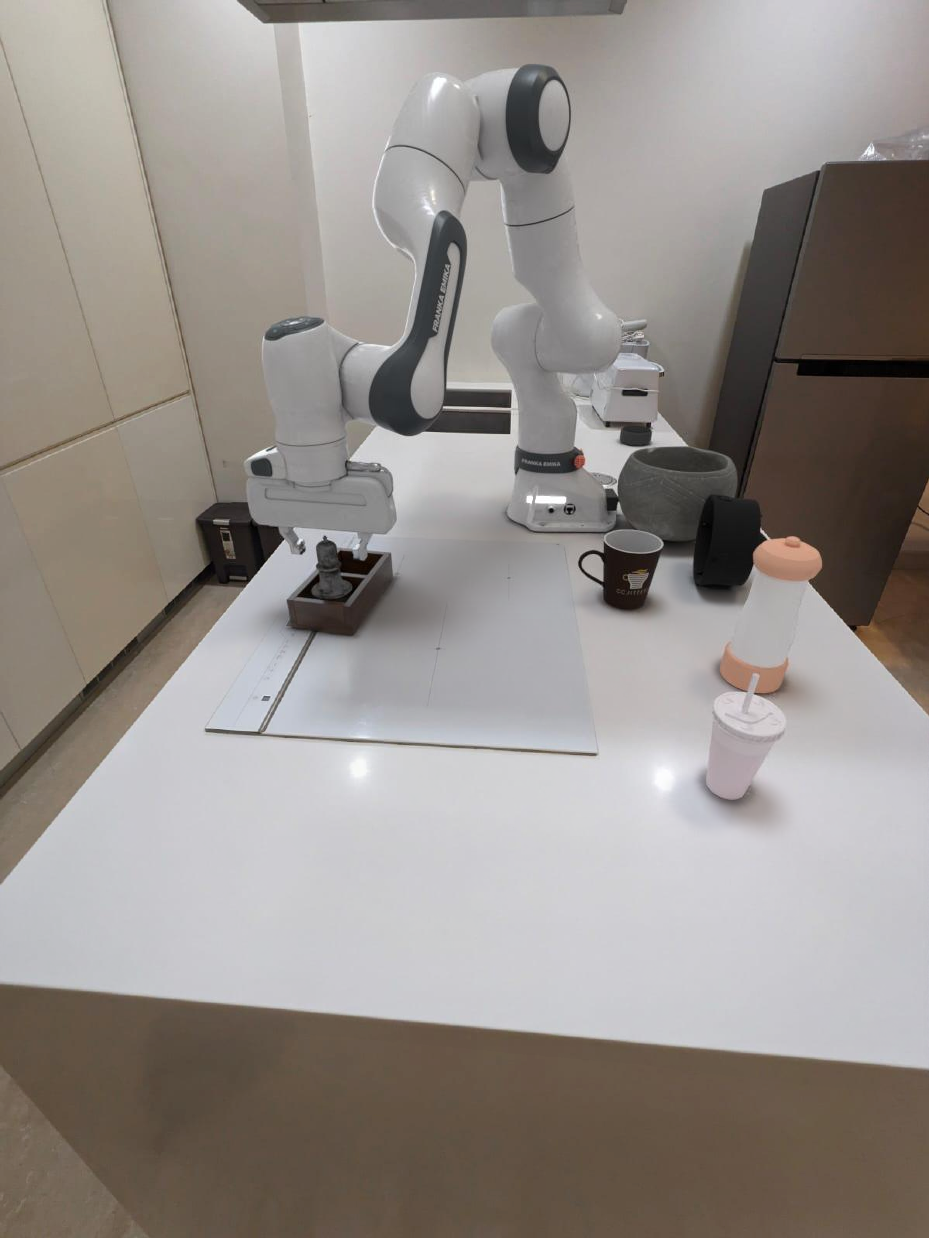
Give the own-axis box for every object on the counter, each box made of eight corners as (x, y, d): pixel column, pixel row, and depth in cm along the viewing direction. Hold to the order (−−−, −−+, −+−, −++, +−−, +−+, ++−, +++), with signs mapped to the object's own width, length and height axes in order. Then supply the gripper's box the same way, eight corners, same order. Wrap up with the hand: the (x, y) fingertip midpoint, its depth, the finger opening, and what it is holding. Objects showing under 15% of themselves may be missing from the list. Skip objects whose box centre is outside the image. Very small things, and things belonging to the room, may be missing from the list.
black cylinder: (794, 519, 81) (719, 513, 83) (766, 608, 89) (697, 600, 91) (773, 486, 93) (707, 481, 95) (750, 567, 101) (689, 561, 103)
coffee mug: (653, 591, 93) (664, 533, 88) (650, 617, 86) (661, 557, 81) (581, 580, 97) (588, 524, 91) (572, 605, 90) (579, 545, 84)
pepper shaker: (776, 700, 70) (828, 557, 60) (713, 681, 73) (753, 542, 63) (784, 670, 75) (833, 533, 65) (725, 653, 79) (763, 520, 68)
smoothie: (681, 764, 61) (711, 655, 54) (740, 760, 62) (777, 652, 54) (708, 812, 56) (745, 699, 48) (772, 808, 56) (818, 695, 49)
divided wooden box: (393, 578, 97) (391, 552, 95) (353, 635, 82) (349, 606, 80) (340, 572, 99) (337, 547, 97) (291, 628, 84) (286, 599, 82)
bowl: (664, 566, 101) (681, 483, 93) (589, 525, 117) (598, 450, 109) (748, 543, 109) (770, 464, 101) (667, 507, 125) (681, 437, 117)
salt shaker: (346, 621, 84) (336, 545, 77) (308, 617, 85) (295, 542, 78) (360, 601, 89) (352, 528, 82) (324, 598, 90) (313, 525, 83)
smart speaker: (654, 441, 171) (656, 427, 169) (644, 448, 165) (647, 434, 163) (624, 437, 175) (626, 423, 173) (614, 444, 169) (616, 430, 167)
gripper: (399, 456, 76) (406, 552, 83) (256, 448, 79) (275, 540, 87) (383, 471, 70) (392, 572, 78) (231, 462, 74) (253, 559, 82)
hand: (329, 555), depth 82 cm, fingers open, 8 cm apart
